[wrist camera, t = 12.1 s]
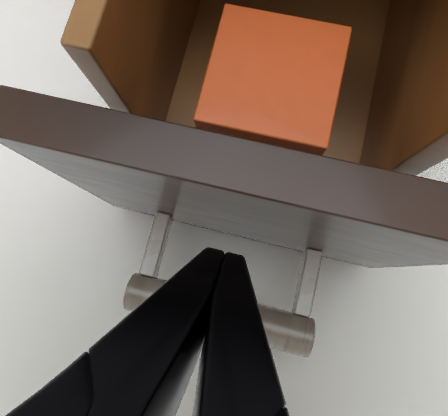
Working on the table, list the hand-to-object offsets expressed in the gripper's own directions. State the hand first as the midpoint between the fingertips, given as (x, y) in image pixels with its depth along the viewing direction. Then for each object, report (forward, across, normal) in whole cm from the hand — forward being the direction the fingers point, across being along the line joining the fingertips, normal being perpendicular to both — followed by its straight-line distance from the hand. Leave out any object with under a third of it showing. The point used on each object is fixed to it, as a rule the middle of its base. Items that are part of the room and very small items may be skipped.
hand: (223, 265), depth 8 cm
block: (+9, 0, 0) cm, 9 cm away
